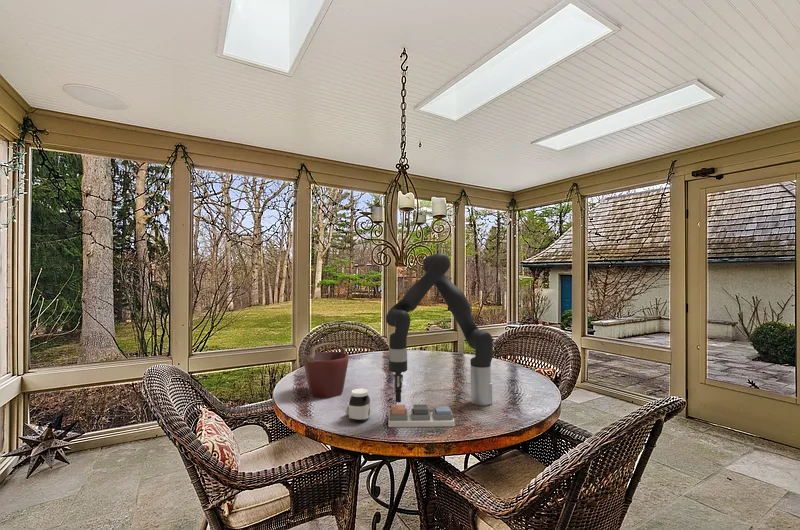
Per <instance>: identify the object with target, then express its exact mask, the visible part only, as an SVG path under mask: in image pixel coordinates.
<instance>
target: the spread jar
mask: <svg viewBox="0 0 800 530" xmlns="http://www.w3.org/2000/svg"><path fill="white" fill-rule="evenodd" d="M343 411H344V414H346V415H347V416H348V418H349V420H350V421H351V422H354V423H364V422H367V421H368V420H369V419H370V415H371V397H370V396H369V391H368V389H366V388H355V389H352V390H351V396H350V398H349V401H347V403H346V404H345V406H344V410H343Z"/></svg>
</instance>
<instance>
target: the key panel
mask: <svg viewBox="0 0 800 530" xmlns="http://www.w3.org/2000/svg"><path fill="white" fill-rule="evenodd" d="M405 409H406V415H392V408H389V412H388V421H387V422H388V425H387V427H388V428H432V427H433V428H434V427H435V428H437V427H439V428H440V427H456V425H455V419H454V414H453V412H452V409H451V408H450V411H451V414H444V415H436V413H435V408H432V411H431V412H430V408H428V415H414V411H413V408H411V409H410V410H411V411H410V412H408V408H405Z"/></svg>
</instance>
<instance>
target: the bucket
mask: <svg viewBox="0 0 800 530" xmlns="http://www.w3.org/2000/svg"><path fill="white" fill-rule="evenodd" d="M328 345H332V346H335V347H337V348H338V349H339V350H340V351H323V352H322V351H321V352H316V350H317V349H319V348H321V347H324V346H328ZM349 355H350V354H349V353H346V349H345V348H344V346H342V345H340V344H338V343H334V342H323V343H319V344H316V345H313V346H312V347H310V348H309V354H307V355H304V356H303V365H304V371H305V375H306V381H307V386H308V390H309V394H310V395H311V396H312V398H314V399H315V398H317V399H319V398H320V399H330V398H335V397H340V396H341V395H342V394H343V393H344V392H343V391H344V388H345V383H346V382H345V381H346V376H347V370H348V365H349Z"/></svg>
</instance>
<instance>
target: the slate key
mask: <svg viewBox="0 0 800 530" xmlns="http://www.w3.org/2000/svg"><path fill="white" fill-rule="evenodd" d="M434 409H435V413H436V415H444V414H451V411H452V410H451V411H450V409H451V408H450V407H449V405H444V406H443V405H442V406H441V405H435V406H434Z"/></svg>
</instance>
